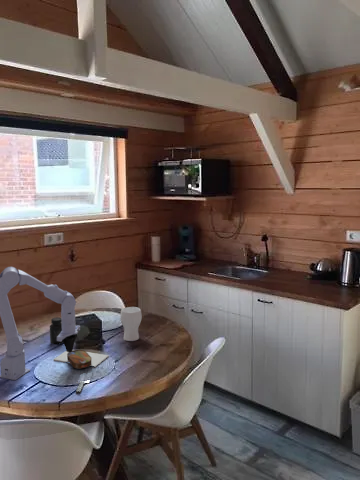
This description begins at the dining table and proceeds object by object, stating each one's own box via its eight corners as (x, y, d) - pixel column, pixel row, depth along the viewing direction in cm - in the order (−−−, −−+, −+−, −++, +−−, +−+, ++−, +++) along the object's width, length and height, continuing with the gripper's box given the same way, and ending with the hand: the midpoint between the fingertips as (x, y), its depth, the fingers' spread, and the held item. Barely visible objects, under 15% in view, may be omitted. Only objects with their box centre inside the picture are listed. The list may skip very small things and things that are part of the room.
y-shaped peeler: (84, 393, 158) (84, 391, 158) (71, 393, 158) (71, 391, 158) (93, 373, 175) (93, 371, 175) (81, 373, 175) (81, 371, 175)
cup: (143, 334, 218) (143, 306, 215) (139, 342, 207) (139, 313, 205) (123, 334, 219) (123, 306, 216) (118, 341, 208) (118, 312, 206)
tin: (64, 352, 188) (83, 347, 192) (65, 358, 188) (83, 353, 192) (74, 365, 175) (94, 359, 179) (75, 372, 175) (94, 366, 180)
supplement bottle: (67, 340, 210) (66, 317, 208) (59, 345, 203) (58, 321, 201) (55, 338, 211) (54, 315, 210) (47, 344, 205) (46, 320, 203)
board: (95, 367, 180) (95, 366, 180) (53, 360, 186) (53, 359, 186) (108, 356, 191) (108, 355, 191) (69, 350, 198) (68, 349, 198)
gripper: (66, 327, 172) (67, 359, 174) (85, 317, 185) (86, 346, 187) (52, 325, 174) (53, 357, 176) (71, 315, 188) (72, 344, 190)
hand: (69, 351), depth 182 cm, fingers closed
